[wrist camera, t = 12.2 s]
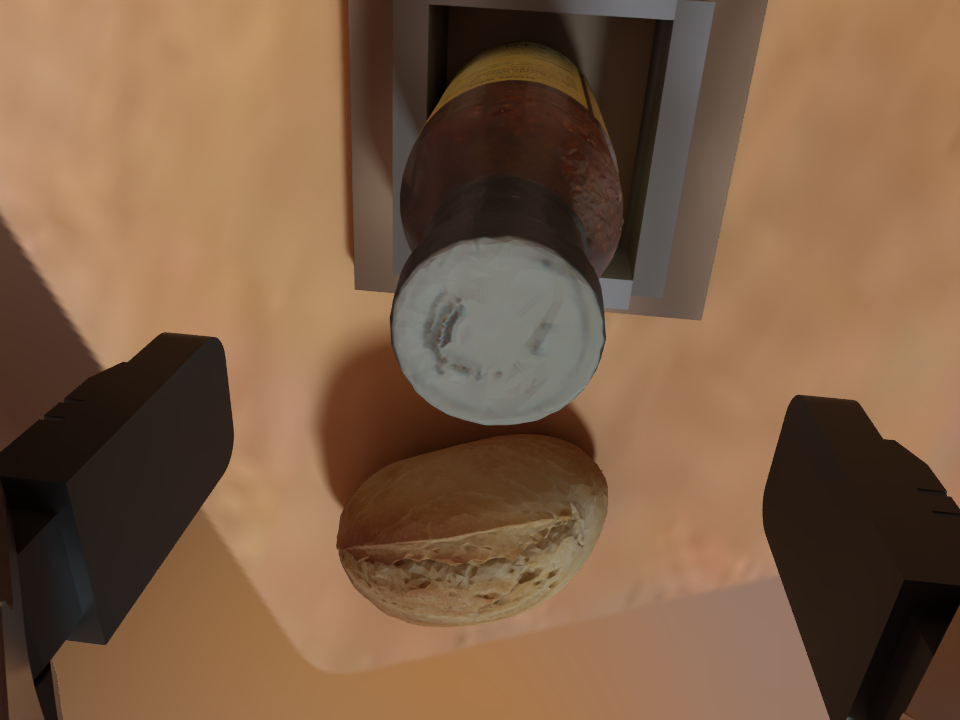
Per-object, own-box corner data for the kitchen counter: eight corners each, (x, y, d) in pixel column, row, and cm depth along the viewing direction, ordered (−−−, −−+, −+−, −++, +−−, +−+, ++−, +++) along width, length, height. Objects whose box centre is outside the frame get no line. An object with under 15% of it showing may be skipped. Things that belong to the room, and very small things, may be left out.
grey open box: (775, -85, 28) (829, -100, 23) (696, 307, 36) (721, 372, 30) (355, -109, 29) (304, -129, 24) (362, 278, 37) (324, 335, 31)
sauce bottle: (415, 111, 31) (228, 296, 14) (531, 0, 29) (481, 54, 12) (518, 228, 33) (467, 520, 16) (634, 133, 31) (726, 352, 13)
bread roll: (313, 452, 42) (262, 549, 35) (571, 374, 38) (572, 466, 31) (386, 578, 46) (354, 689, 39) (627, 519, 42) (640, 631, 35)
